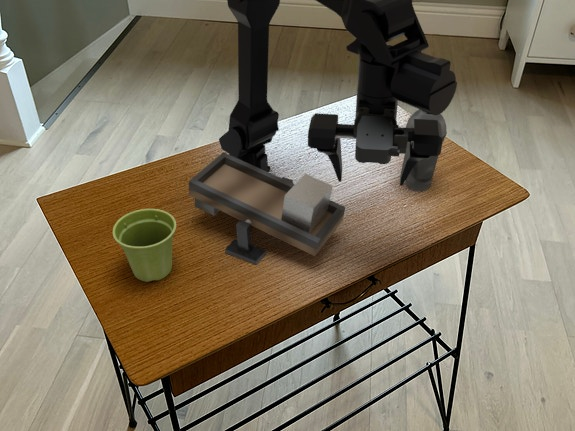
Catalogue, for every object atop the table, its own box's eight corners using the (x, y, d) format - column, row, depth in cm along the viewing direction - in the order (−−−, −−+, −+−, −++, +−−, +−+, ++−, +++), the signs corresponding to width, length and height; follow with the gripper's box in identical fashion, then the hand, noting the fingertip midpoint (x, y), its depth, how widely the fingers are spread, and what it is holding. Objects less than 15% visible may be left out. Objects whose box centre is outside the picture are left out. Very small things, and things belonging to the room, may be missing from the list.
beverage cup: (437, 197, 110) (454, 98, 98) (396, 193, 112) (409, 95, 99) (437, 175, 116) (454, 78, 104) (399, 171, 117) (411, 75, 105)
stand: (225, 252, 99) (222, 223, 96) (276, 199, 111) (275, 171, 107) (256, 264, 97) (254, 235, 93) (305, 208, 108) (305, 180, 104)
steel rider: (280, 223, 96) (284, 195, 92) (300, 201, 101) (305, 173, 97) (308, 236, 95) (313, 208, 91) (327, 213, 99) (332, 185, 95)
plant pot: (149, 242, 102) (141, 201, 96) (194, 261, 98) (188, 219, 93) (110, 276, 95) (99, 234, 90) (157, 298, 92) (148, 255, 86)
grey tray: (185, 210, 103) (185, 183, 99) (224, 176, 111) (225, 149, 106) (309, 272, 95) (315, 245, 91) (341, 230, 103) (347, 204, 99)
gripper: (302, 113, 78) (303, 209, 87) (452, 121, 75) (435, 219, 85) (312, 75, 86) (311, 167, 96) (446, 81, 84) (432, 175, 94)
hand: (370, 182), depth 92 cm, fingers open, 9 cm apart
